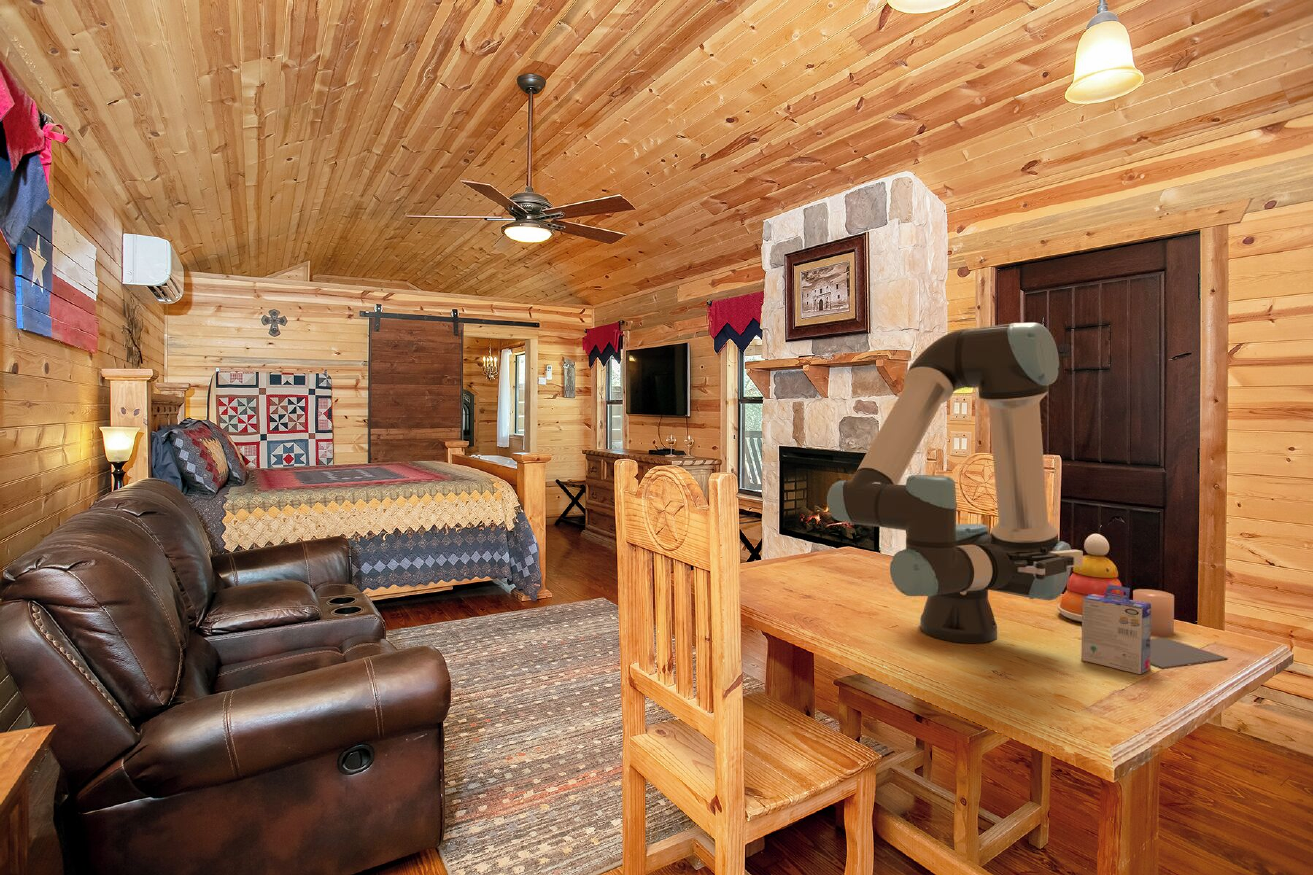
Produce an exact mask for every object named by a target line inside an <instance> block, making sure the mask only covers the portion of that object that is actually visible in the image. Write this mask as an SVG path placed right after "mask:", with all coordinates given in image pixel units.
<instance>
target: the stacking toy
mask: <svg viewBox="0 0 1313 875" xmlns="http://www.w3.org/2000/svg"><path fill="white" fill-rule="evenodd" d="M1083 547H1084V550H1085V551H1086V553H1087V554H1086V555H1083V566H1079V567H1072V571H1073V573H1071V574H1070V575H1069V579H1068V582H1067V584H1066V589H1065V592H1064V593H1063V595H1062V596H1061V599H1060V602H1059V603H1058V604H1057V605H1056V606H1057V611H1058V612H1059V613H1060V615H1062V616H1064V617H1066V618H1068V619H1069V620H1074V621H1077V622H1081V623H1082V598H1084V597H1086V596H1088V595H1090V594H1096V595H1102V596H1105V594H1106V590H1107V587H1108V585H1114V586H1120V587H1123V586H1122V585H1123V584H1122V583H1121V581H1120V580H1119V578H1118V577H1119V571H1118V569H1117V566H1116V565H1115V564H1114V562H1113V561H1112V560H1110V559H1109V558H1108V557H1106V555H1107V554H1108V553H1109V550H1110V544H1109V541H1108V540H1107V538H1106V537H1105V536H1103V535H1101V534H1099V533H1092V534H1090V535H1088V537H1087V538H1086V539H1085V540H1084V544H1083ZM1110 592H1111V593H1115V594H1121V595H1125V594H1124V593H1125V592H1123V591H1121V590H1110Z"/></svg>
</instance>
